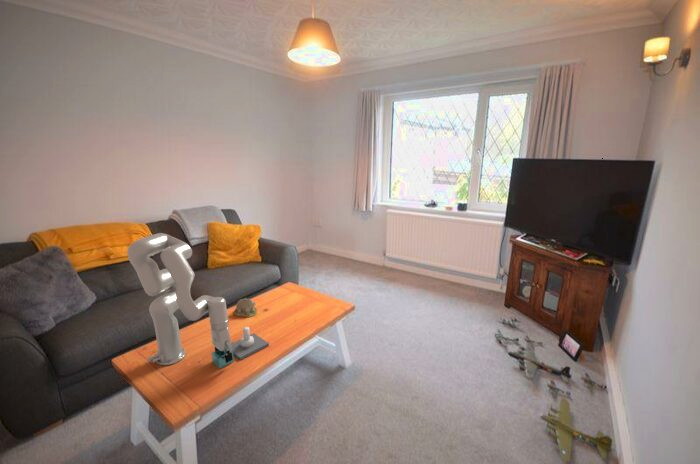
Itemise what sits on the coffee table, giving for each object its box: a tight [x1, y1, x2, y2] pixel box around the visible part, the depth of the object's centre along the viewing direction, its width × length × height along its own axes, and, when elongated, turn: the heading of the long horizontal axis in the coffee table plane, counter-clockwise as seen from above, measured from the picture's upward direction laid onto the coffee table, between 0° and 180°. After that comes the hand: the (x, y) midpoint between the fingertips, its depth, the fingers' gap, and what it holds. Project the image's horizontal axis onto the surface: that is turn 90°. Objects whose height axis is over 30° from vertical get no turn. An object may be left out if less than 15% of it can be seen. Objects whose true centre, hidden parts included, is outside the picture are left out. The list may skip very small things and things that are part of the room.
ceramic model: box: [233, 297, 258, 318], centre depth 194 cm, size 14×11×10 cm
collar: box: [211, 347, 235, 369], centre depth 148 cm, size 7×7×5 cm
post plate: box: [226, 326, 270, 361], centre depth 159 cm, size 16×14×10 cm
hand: (224, 357), depth 148 cm, fingers open, 9 cm apart
